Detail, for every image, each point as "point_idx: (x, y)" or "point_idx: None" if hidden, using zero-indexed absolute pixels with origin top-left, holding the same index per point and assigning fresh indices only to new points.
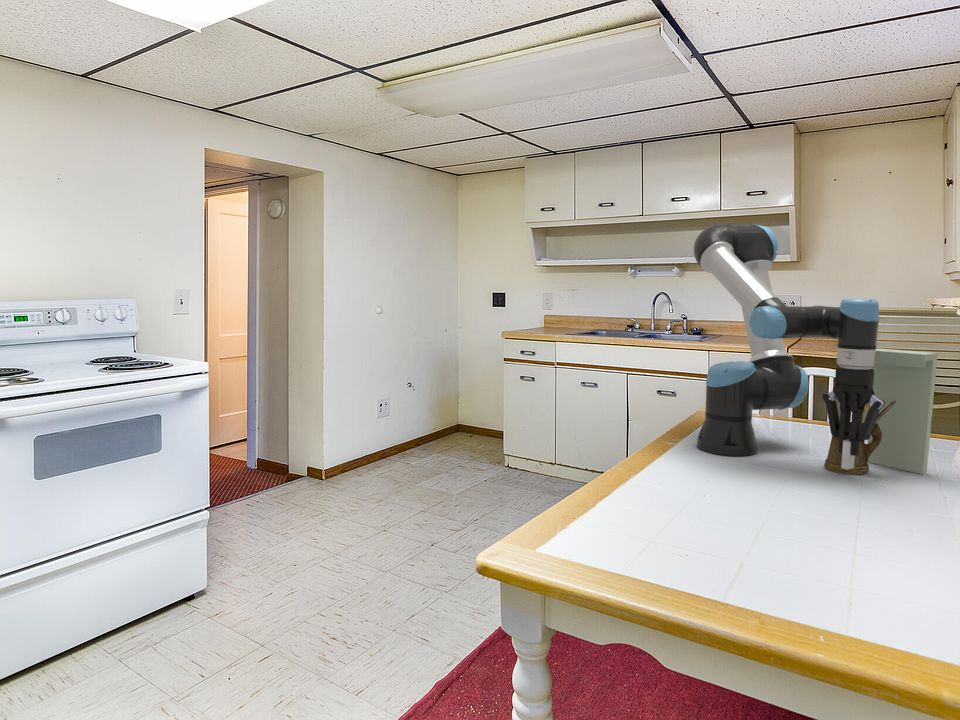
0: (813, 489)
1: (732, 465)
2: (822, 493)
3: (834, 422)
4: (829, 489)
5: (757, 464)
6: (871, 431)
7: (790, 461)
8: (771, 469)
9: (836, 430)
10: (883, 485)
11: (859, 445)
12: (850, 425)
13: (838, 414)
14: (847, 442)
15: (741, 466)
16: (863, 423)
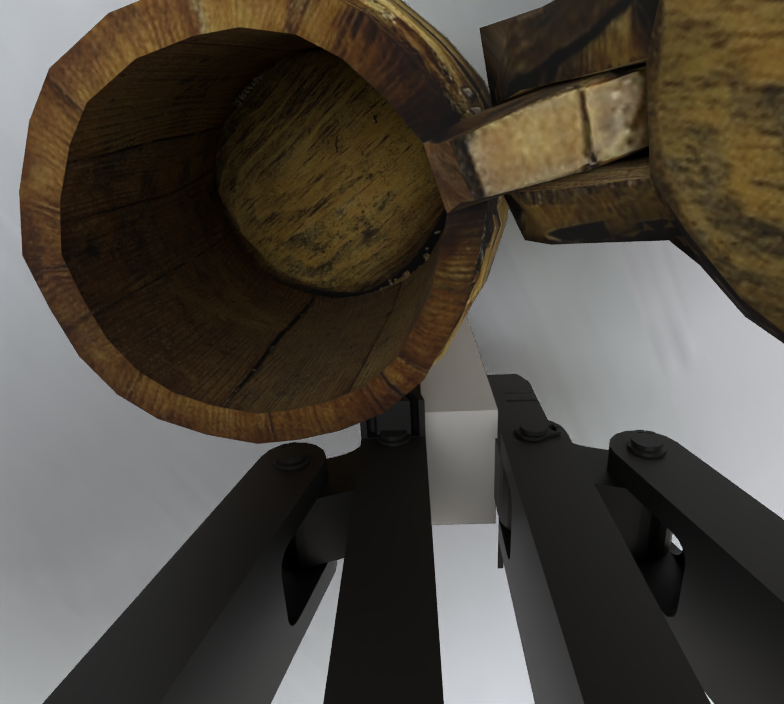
0: (468, 666)
1: (13, 656)
2: (522, 680)
3: (279, 681)
4: (511, 615)
5: (35, 548)
6: (750, 512)
7: (38, 329)
8: (143, 565)
9: (323, 575)
10: (668, 323)
11: (545, 416)
12: (178, 53)
13: (188, 660)
14: (470, 516)
15: (43, 637)
16: (485, 194)
